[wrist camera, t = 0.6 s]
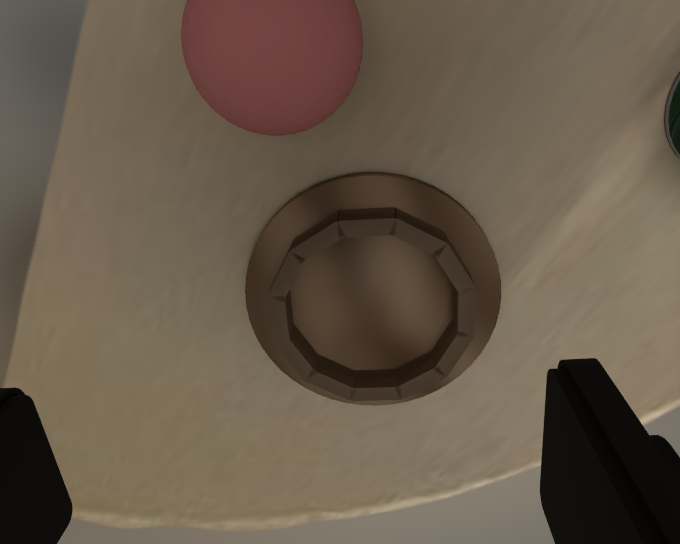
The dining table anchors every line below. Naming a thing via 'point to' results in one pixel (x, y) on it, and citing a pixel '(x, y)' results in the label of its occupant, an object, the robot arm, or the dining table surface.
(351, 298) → the holder
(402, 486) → the dining table surface
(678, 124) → the canned tomato
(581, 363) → the robot arm
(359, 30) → the light bulb
